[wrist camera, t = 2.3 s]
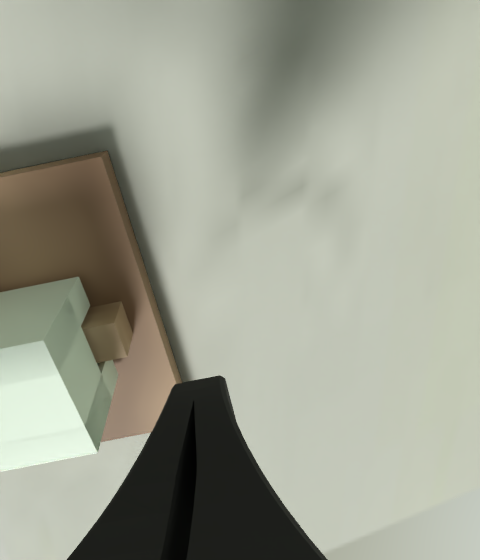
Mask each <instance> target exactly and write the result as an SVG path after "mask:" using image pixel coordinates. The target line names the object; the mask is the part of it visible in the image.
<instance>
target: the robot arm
mask: <svg viewBox="0 0 480 560" xmlns="http://www.w3.org/2000/svg"><path fill="white" fill-rule="evenodd" d="M67 560H327V559H326V558H325V556H324V555H323V554H322V553H321V552H320V550H319V549H318V548H317V547H316V546H315V544H314V543H313V542H312V541H311V540H310V538H309V537H308V536H307V535H306V533H305V532H304V531H303V529H302V528H301V527H300V525H299V524H298V523H297V522H296V520H295V519H294V518H293V516H292V515H291V514H290V512H289V511H288V510H287V508H286V507H285V506H284V504H283V503H282V501H281V500H280V498H279V497H278V495H277V494H276V493H275V491H274V490H273V488H272V487H271V485H270V483H269V482H268V480H267V479H266V477H265V476H264V474H263V472H262V471H261V469H260V467H259V466H258V464H257V462H256V460H255V459H254V457H253V455H252V453H251V451H250V449H249V448H248V446H247V444H246V442H245V440H244V438H243V436H242V434H241V431H240V429H239V427H238V425H237V422H236V419H235V415H234V411H233V407H232V404H231V400H230V396H229V392H228V388H227V384H226V381H225V378H223V377H222V376H215V377H210V378H204V379H199V380H194V381H189V382H184V383H179V384H175V385H174V386H173V388H172V389H171V392H170V394H169V396H168V398H167V401H166V403H165V405H164V407H163V410H162V412H161V414H160V416H159V418H158V420H157V422H156V424H155V426H154V428H153V430H152V432H151V434H150V436H149V438H148V440H147V442H146V444H145V445H144V447H143V449H142V451H141V453H140V455H139V456H138V458H137V460H136V461H135V463H134V465H133V467H132V468H131V470H130V472H129V473H128V475H127V477H126V478H125V480H124V482H123V483H122V485H121V486H120V488H119V490H118V491H117V493H116V494H115V496H114V497H113V499H112V500H111V502H110V503H109V505H108V506H107V507H106V509H105V510H104V512H103V513H102V515H101V516H100V517H99V519H98V520H97V522H96V523H95V524H94V526H93V527H92V528H91V529H90V531H89V532H88V533H87V535H86V536H85V537H84V539H83V540H82V541H81V543H80V544H79V545H78V546H77V548H76V549H75V550H74V551H73V553H72V554H71V555H70V556H69V558H68V559H67Z"/></svg>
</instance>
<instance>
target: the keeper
mask: <svg viewBox="0 0 480 560" xmlns="http://www.w3.org/2000/svg"><path fill="white" fill-rule="evenodd" d="M89 307H90V303H89V300H88V298H87V296H86V293H85V291H84V288H83V286H82V283H81V281H80V278H79V277H74V278H69V279H64V280H59V281H54V282H49V283H44V284H39V285H34V286H29V287H24V288H19V289H14V290H9V291H4V292H0V472H1V471H6V470H12V469H17V468H22V467H27V466H32V465H38V464H43V463H48V462H53V461H58V460H63V459H69V458H74V457H79V456H84V455H89V454H95V453H98V450H99V446H100V442H101V438H102V435H103V431H104V427H105V423H106V420H107V416H108V412H109V408H110V405H111V401H112V397H113V393H114V389H115V386H116V382H117V378H118V372H117V370H116V367H115V365H114V362H113V360H110V361H104V362H99V363H96V360H95V358H94V356H93V353H92V351H91V349H90V346H89V344H88V342H87V339H86V337H85V335H84V332H83V330H82V328H81V325H82V323H83V320H84V318H85V316H86V314H87V311H88V309H89Z"/></svg>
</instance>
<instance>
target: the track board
mask: <svg viewBox="0 0 480 560" xmlns="http://www.w3.org/2000/svg"><path fill="white" fill-rule="evenodd" d="M74 277H79V278H80V281H81V283H82V286H83V288H84V291H85V293H86V296H87V298H88V300H89V303H90V307H89V309H88V311H87V314H86V316H85V318H84V320H83V323H82V325H81V328H82V330H83V332H84V335H85V337H86V339H87V342H88V344H89V346H90V349H91V351H92V353H93V356H94V358H95V360H96V363H99V362H104V361H110V360H113V362H114V365H115V367H116V370H117V372H118V378H117V382H116V386H115V389H114V393H113V397H112V401H111V405H110V408H109V412H108V416H107V420H106V423H105V427H104V431H103V435H102V438H101V442H103V441H108V440H114V439H119V438H124V437H129V436H134V435H139V434H145V433H150V432H152V430H153V428H154V426H155V424H156V422H157V420H158V418H159V416H160V414H161V412H162V410H163V407H164V405H165V403H166V401H167V398H168V396H169V394H170V392H171V389H172V388H173V386H174V385H175V384H179V383H182V381H181V378H180V375H179V372H178V368H177V365H176V362H175V359H174V356H173V353H172V350H171V347H170V344H169V340H168V337H167V334H166V331H165V328H164V325H163V322H162V319H161V316H160V312H159V309H158V306H157V303H156V300H155V297H154V294H153V291H152V288H151V285H150V281H149V278H148V275H147V272H146V269H145V266H144V263H143V260H142V257H141V253H140V250H139V247H138V244H137V241H136V238H135V235H134V232H133V229H132V226H131V222H130V219H129V216H128V213H127V210H126V207H125V204H124V201H123V198H122V194H121V191H120V188H119V185H118V182H117V179H116V176H115V173H114V170H113V166H112V163H111V160H110V157H109V154H108V151H103V152H98V153H93V154H88V155H84V156H79V157H74V158H69V159H64V160H60V161H55V162H50V163H45V164H40V165H36V166H31V167H26V168H21V169H16V170H12V171H7V172H2V173H0V292H4V291H9V290H14V289H19V288H24V287H29V286H34V285H39V284H44V283H49V282H54V281H59V280H64V279H69V278H74Z"/></svg>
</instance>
